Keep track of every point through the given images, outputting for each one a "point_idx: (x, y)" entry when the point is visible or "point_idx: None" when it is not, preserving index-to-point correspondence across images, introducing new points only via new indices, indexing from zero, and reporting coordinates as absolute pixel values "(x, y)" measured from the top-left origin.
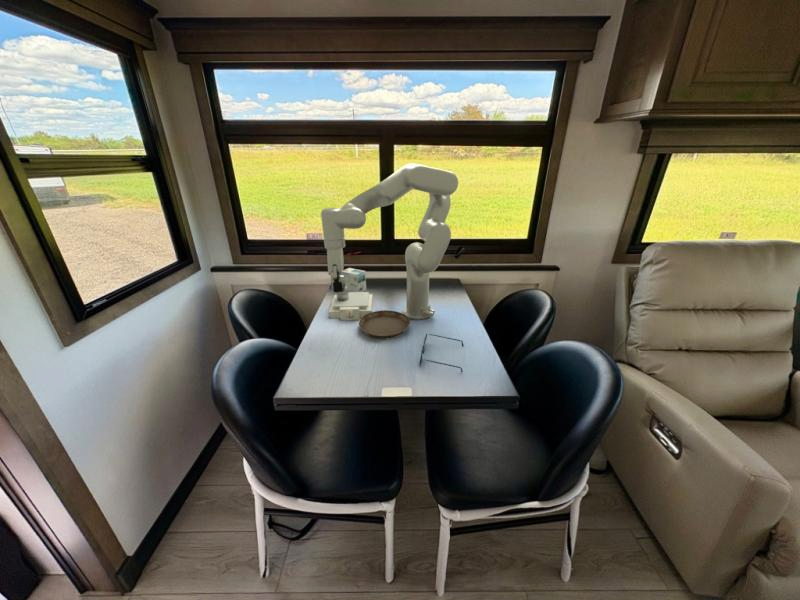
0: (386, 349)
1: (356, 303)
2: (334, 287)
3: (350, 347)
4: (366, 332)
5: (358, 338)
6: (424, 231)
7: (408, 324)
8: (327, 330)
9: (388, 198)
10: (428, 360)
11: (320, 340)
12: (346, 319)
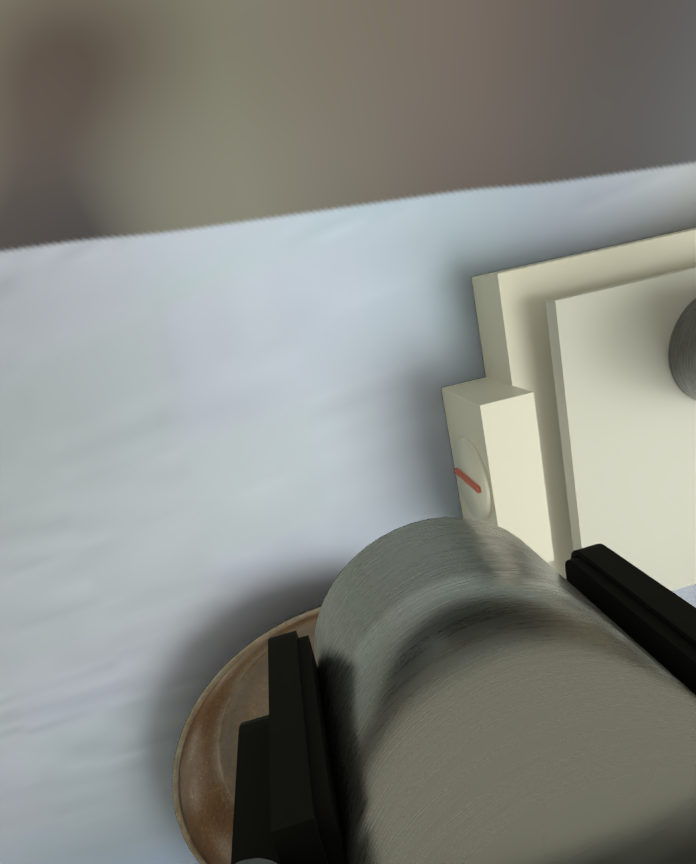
0: (93, 825)
1: (624, 509)
2: (276, 720)
3: (46, 610)
4: (193, 707)
5: (186, 618)
6: None
7: None
8: (252, 343)
9: None
10: None
11: (77, 348)
12: (450, 436)
